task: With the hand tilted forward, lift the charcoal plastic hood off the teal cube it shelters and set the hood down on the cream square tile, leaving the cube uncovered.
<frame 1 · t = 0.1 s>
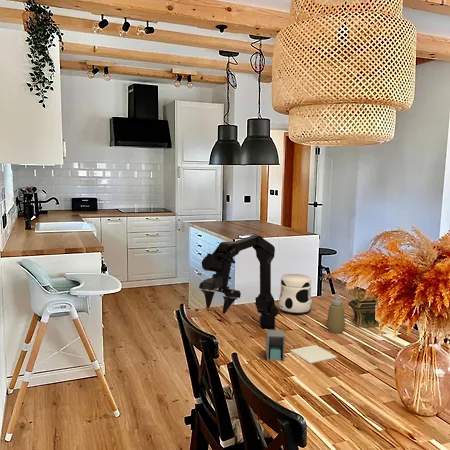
hand: (215, 310, 176), 15 cm above the table, tool pointing down, fingers open, 9 cm apart
teal cube: (274, 353, 168), in the charcoal hood
cream spotted cookie jar: (294, 311, 226), on the table
squeeze bottle: (335, 331, 198), on the table
charcoal hood: (274, 357, 169), on the table
decorative box: (364, 324, 207), on the table
cream square tile: (313, 354, 172), on the table
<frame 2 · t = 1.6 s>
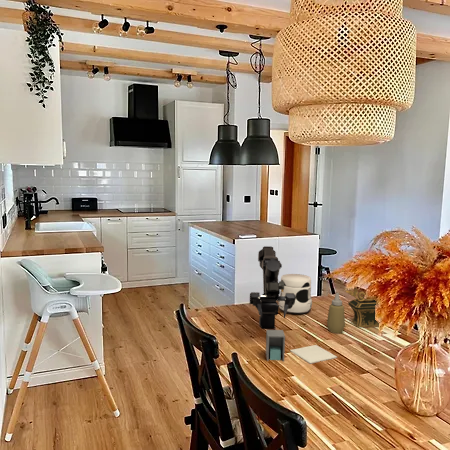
hand: (273, 317, 175), 13 cm above the table, tool tilted 45°, fingers open, 9 cm apart
nothing on the table moved.
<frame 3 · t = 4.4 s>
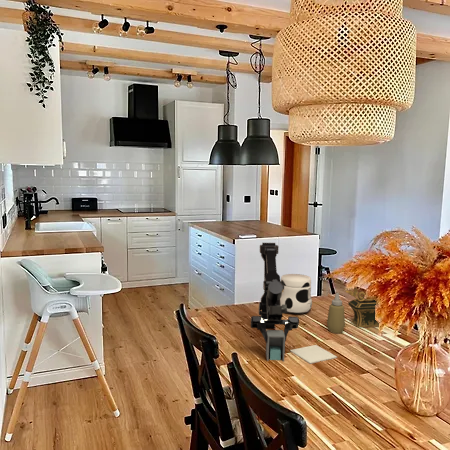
hand: (275, 342, 166), 7 cm above the table, tool tilted 45°, fingers closed on charcoal hood, 6 cm apart
charcoal hood: (274, 357, 169), on the table, touching gripper
everything else where it was.
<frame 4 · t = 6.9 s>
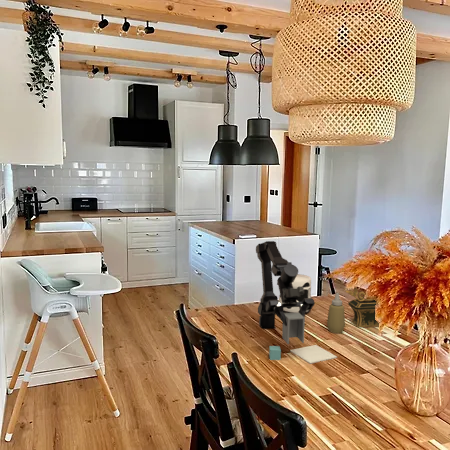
hand: (294, 325, 166), 14 cm above the table, tool tilted 45°, fingers closed on charcoal hood, 6 cm apart
charcoal hood: (292, 340, 168), point 7 cm above the table, touching gripper
everything else where it was.
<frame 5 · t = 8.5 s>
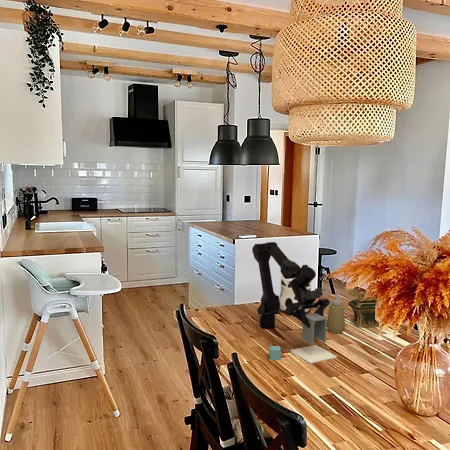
hand: (316, 326, 170), 12 cm above the table, tool tilted 45°, fingers closed on charcoal hood, 6 cm apart
charcoal hood: (313, 341, 172), point 5 cm above the table, touching gripper
everything else where it was.
when the fingers open (9 cm above the table, at t = 9.7 s): charcoal hood drops 2 cm, resting on cream square tile.
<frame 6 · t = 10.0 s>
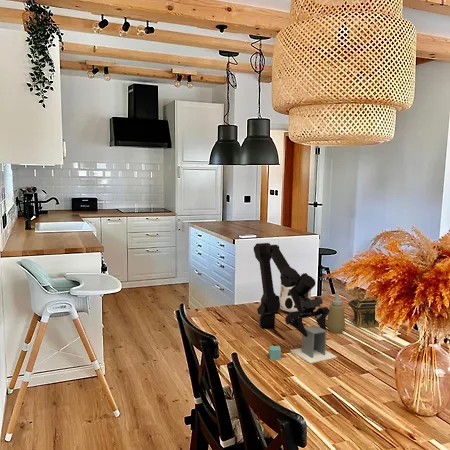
hand: (316, 334, 170), 9 cm above the table, tool tilted 45°, fingers open, 9 cm apart
charcoal hood: (313, 353, 172), resting on cream square tile
everything else where it was.
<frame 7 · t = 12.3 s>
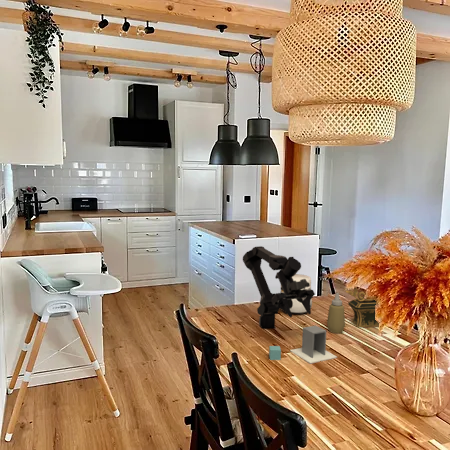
hand: (300, 315, 178), 13 cm above the table, tool tilted 45°, fingers open, 9 cm apart
nothing on the table moved.
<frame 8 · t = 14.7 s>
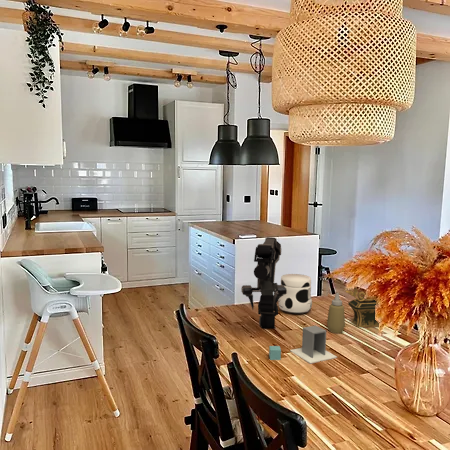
hand: (263, 309, 187), 13 cm above the table, tool pointing down, fingers open, 9 cm apart
nothing on the table moved.
at the end: charcoal hood 0.1 cm off-centre on the cream square tile, point 0.4 cm above the cream square tile's base; charcoal hood tilted 0°; teal cube moved 0.1 cm from its start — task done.
